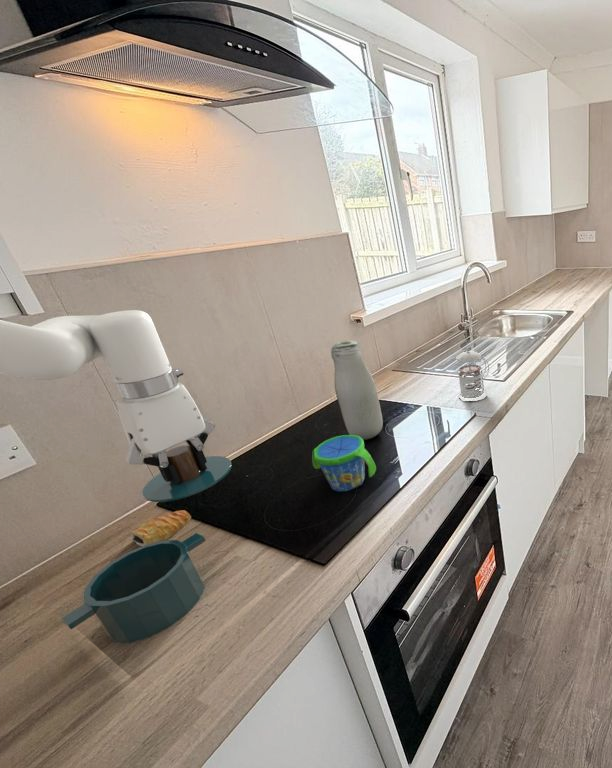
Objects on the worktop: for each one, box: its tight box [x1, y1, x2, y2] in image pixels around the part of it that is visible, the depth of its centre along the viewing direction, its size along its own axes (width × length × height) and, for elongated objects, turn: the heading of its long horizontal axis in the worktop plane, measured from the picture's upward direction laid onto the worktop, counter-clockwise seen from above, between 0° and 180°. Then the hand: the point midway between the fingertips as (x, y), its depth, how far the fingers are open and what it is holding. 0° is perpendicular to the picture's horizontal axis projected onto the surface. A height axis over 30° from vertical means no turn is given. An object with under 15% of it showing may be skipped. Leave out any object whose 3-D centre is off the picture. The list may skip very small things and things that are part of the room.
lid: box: [141, 445, 233, 503], centre depth 76 cm, size 14×14×7 cm
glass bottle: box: [330, 340, 384, 441], centre depth 110 cm, size 10×10×28 cm
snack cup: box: [311, 434, 377, 493], centre depth 94 cm, size 16×10×10 cm
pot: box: [60, 532, 207, 644], centre depth 66 cm, size 13×18×8 cm
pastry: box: [130, 509, 192, 547], centre depth 84 cm, size 9×7×4 cm
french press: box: [455, 321, 490, 403], centre depth 132 cm, size 10×12×25 cm
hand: (187, 474), depth 77 cm, fingers closed on lid, 3 cm apart
